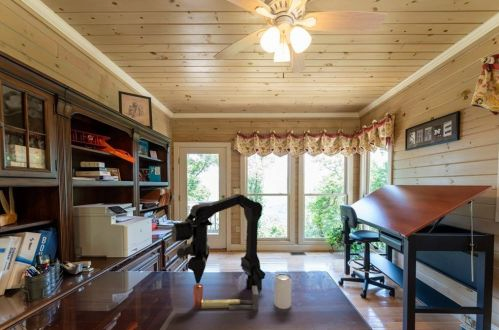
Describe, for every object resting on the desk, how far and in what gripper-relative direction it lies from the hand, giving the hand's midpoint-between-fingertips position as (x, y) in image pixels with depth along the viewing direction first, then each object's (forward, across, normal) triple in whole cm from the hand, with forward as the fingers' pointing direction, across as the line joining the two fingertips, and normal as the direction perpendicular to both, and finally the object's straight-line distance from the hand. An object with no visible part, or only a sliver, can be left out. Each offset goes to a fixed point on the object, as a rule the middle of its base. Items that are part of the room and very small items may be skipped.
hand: (199, 277), depth 96 cm
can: (+12, +1, +32) cm, 35 cm away
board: (+12, +1, +12) cm, 17 cm away
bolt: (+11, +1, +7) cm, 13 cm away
